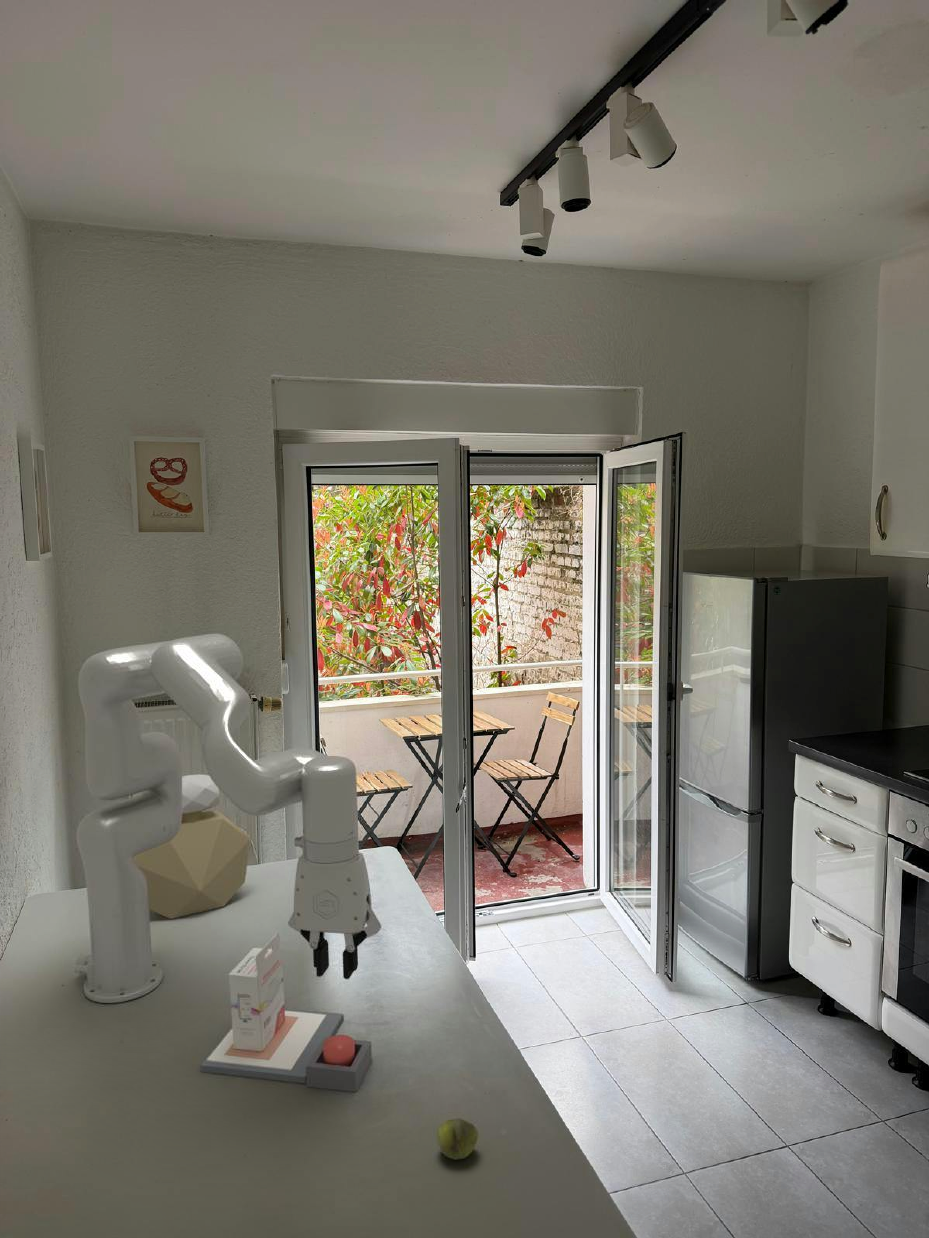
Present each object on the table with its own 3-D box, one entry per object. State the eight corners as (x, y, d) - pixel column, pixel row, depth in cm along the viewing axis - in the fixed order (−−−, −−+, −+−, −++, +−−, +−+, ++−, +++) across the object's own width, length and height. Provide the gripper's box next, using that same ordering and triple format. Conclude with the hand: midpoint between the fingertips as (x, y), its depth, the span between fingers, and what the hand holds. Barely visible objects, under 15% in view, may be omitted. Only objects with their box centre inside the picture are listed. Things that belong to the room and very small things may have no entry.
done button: (319, 1071, 122) (318, 1051, 122) (330, 1052, 127) (329, 1033, 126) (349, 1074, 121) (348, 1054, 121) (359, 1055, 126) (358, 1036, 125)
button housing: (306, 1086, 121) (305, 1066, 121) (324, 1055, 128) (324, 1036, 128) (356, 1092, 120) (355, 1071, 120) (371, 1060, 127) (371, 1041, 127)
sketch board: (200, 1071, 125) (200, 1062, 125) (249, 1010, 141) (248, 1002, 141) (305, 1083, 122) (305, 1074, 122) (343, 1019, 138) (343, 1011, 137)
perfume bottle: (260, 904, 180) (254, 772, 177) (138, 934, 168) (129, 793, 165) (243, 884, 191) (237, 759, 188) (127, 910, 179) (118, 777, 176)
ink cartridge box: (256, 1017, 136) (252, 927, 135) (286, 1020, 135) (282, 929, 134) (231, 1049, 128) (226, 954, 126) (262, 1053, 127) (258, 957, 125)
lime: (432, 1154, 108) (431, 1116, 107) (464, 1137, 111) (463, 1100, 110) (452, 1175, 104) (451, 1136, 104) (485, 1158, 107) (484, 1120, 106)
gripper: (264, 853, 118) (270, 981, 120) (380, 860, 115) (384, 992, 117) (286, 834, 126) (291, 955, 128) (396, 840, 123) (399, 964, 125)
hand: (336, 971), depth 122 cm, fingers open, 3 cm apart
